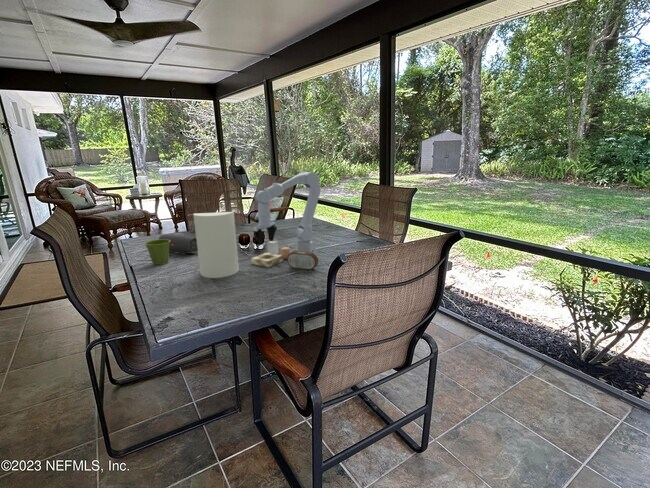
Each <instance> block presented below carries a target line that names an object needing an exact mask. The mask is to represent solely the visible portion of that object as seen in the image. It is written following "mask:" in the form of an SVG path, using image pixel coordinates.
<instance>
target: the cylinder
mask: <svg viewBox="0 0 650 488" xmlns="http://www.w3.org/2000/svg"><path fill="white" fill-rule="evenodd" d="M192 215H193V222H194V223H193V225H194V230H195V231H194V232H195V238H196V240H197V248H198V251H197V253H198V263H199V271H200V275H201V277H203V278H210V279H219V278H227V277H230V276H233V275H235V274H237V273H238V272H239V271H240V267H239V266H240V265H239V258H238V255H239V254H238V245H237V237H236V236H237V235H236V233H237V232H236V223H235V213H234V211H222V212H221V211H219V212H201V213H200V212H199V213H193V214H192Z"/></svg>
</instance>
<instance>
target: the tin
mask: <svg viewBox="0 0 650 488" xmlns="http://www.w3.org/2000/svg"><path fill="white" fill-rule="evenodd" d="M316 255H317V254H316ZM316 255H315V254H314V253H312V252H303V251H297V250H292V251H290V254H289V255H288V257H287V259H286V260H287V264H288V265H289V266H290V267H291V268H293V269H296V270H297V269H298V270H305V269H306V270H307V271H312V270H314V269H315V268H316V267H317V266H318V263H319V259H318V255H317V256H316Z"/></svg>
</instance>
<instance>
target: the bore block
mask: <svg viewBox="0 0 650 488" xmlns="http://www.w3.org/2000/svg"><path fill="white" fill-rule="evenodd" d="M250 260H251V264H252V265H256V266H261V267H265V268H270V267H273V266H276V265H277V264H280V263H282V262H283V261H284V259H283V255H281V254H271V253H268V252H264V253H260V254H259V255H257V256H254V257H253V256H252V257H251V259H250Z"/></svg>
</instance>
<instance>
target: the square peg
mask: <svg viewBox="0 0 650 488" xmlns="http://www.w3.org/2000/svg"><path fill="white" fill-rule="evenodd" d="M267 253H271V254H277V255H280V254H279V241H278V240H273V241H269V240H268V241H267Z"/></svg>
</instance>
